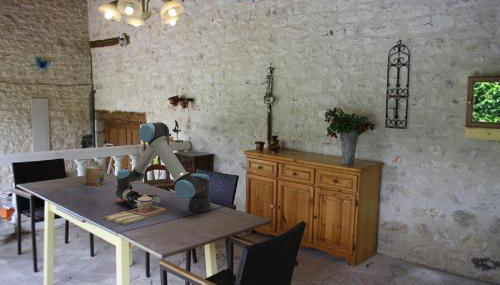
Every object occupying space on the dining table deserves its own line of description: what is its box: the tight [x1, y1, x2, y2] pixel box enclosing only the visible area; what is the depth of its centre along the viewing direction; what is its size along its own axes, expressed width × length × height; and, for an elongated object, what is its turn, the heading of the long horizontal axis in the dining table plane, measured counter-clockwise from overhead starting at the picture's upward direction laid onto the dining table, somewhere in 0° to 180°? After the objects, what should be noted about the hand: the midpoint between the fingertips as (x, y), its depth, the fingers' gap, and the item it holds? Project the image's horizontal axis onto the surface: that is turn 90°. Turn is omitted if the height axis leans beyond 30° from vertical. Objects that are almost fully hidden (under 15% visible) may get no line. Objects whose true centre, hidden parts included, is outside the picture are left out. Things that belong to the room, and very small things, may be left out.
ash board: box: [103, 211, 146, 226], centre depth 242 cm, size 18×15×2 cm
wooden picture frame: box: [126, 205, 167, 219], centre depth 257 cm, size 15×18×2 cm
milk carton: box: [85, 159, 105, 187], centre depth 332 cm, size 11×11×19 cm
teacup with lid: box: [137, 193, 157, 214], centre depth 256 cm, size 12×9×12 cm
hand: (150, 202), depth 254 cm, fingers open, 13 cm apart
